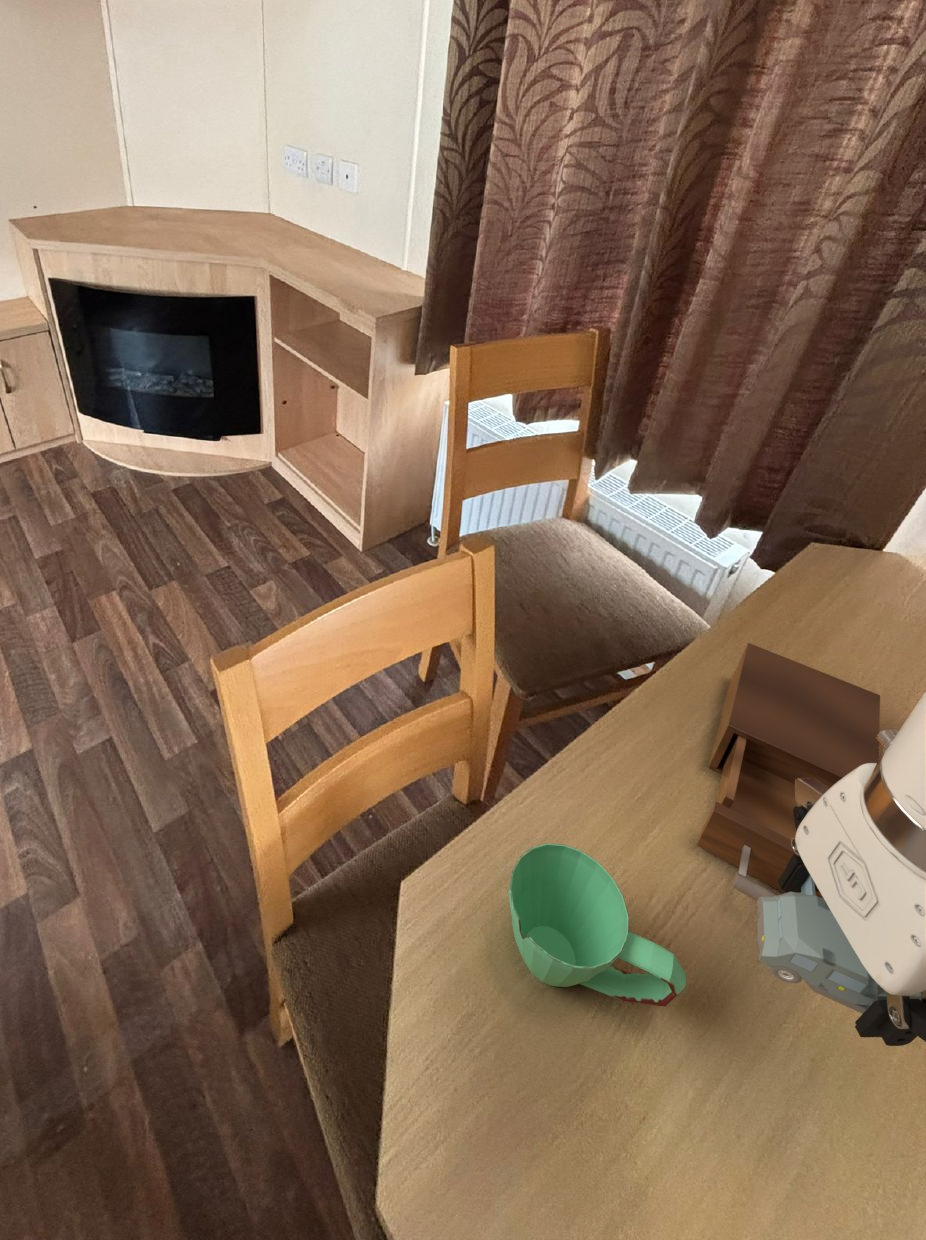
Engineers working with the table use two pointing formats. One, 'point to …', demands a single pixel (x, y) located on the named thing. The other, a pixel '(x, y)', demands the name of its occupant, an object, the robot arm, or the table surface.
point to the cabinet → (798, 715)
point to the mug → (584, 929)
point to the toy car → (813, 949)
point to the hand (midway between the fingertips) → (836, 953)
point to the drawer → (756, 814)
